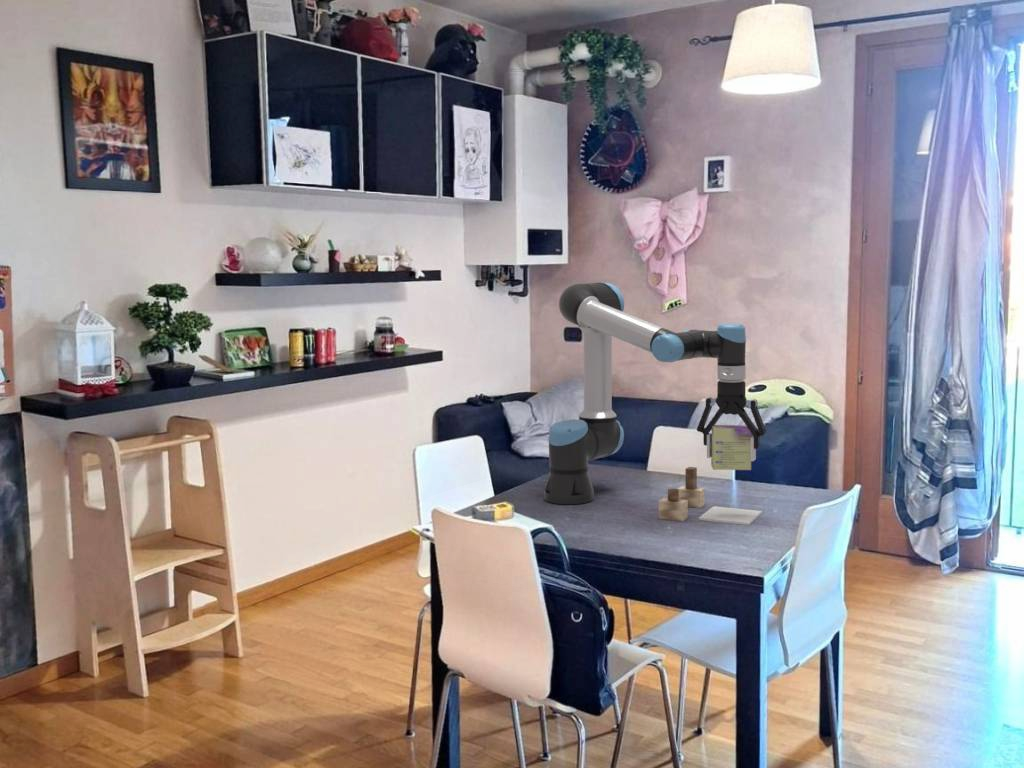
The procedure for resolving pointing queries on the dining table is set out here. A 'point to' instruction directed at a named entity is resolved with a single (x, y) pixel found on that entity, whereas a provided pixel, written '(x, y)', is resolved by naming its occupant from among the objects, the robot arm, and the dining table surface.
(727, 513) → the pad
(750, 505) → the dining table surface
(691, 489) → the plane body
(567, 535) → the dining table surface
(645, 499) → the dining table surface
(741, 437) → the box
